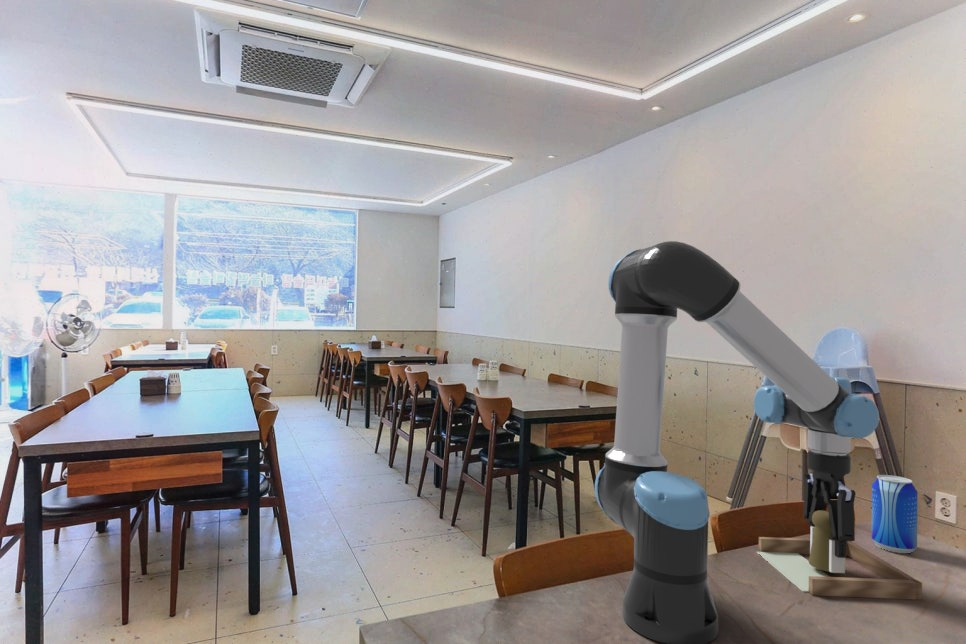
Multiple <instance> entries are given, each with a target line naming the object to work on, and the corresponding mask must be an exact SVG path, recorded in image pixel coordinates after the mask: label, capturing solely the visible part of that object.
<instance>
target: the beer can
mask: <svg viewBox="0 0 966 644" xmlns="http://www.w3.org/2000/svg"><path fill="white" fill-rule="evenodd" d="M871 540H872V541H873V542H874V543H875V546H876V547H878V548H879V549H881V548H882V550H884V549H885V551H887V550H888V551H887V552H890V551H893V552H892V553H894V552H899V553H898V554H901V553H911V552H913V553H914V551H915V550H916V549H918V491H917V489H916V487H915V486H914V485H913V480H912V479H909V478H906V477H903V476H897V475H892V474H891V475H890V474H889V475H888V474H879V475H878V474H877V476H876V479H875V481H874V482H873V483H872V484H871ZM911 554H912V553H911Z"/></svg>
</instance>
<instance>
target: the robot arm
mask: <svg viewBox="0 0 966 644" xmlns="http://www.w3.org/2000/svg"><path fill="white" fill-rule="evenodd" d="M607 284H608V291H609V295H610V296H611V298H612V299H613V301H614V302H615V304H614V305H615V306H614V307H615V308H614V316H615V319H617V321H618V322H619V323H620V324H621V334H620V335H621V336H620V337H621V339H620V352H619V367H618V381H617V382H618V384H617V396H616V397H617V399H616V411H615V412H616V413H615V428H614V429H615V430H614V443H613V447H612V448H610V449H609V450H608V451H607V452H606V453H605V455H604V457H605V459H604V465H603V467H602V468H601V469H600V470H599V471H598V473H597V475H596V477H595V481H594V494H595V495H594V496H595V499H596V501H597V503H598V506H599V507H600V508H601V510H602V511H603V513H604V514H605V515H606V517H608V518H609V519H610V520H611V521H612V522H613V523H615V524H617V525H618V526H619V527H621V528H622V529H624V531H626V532H627V533H628V534H629V535H631V536H632V537H633V539H634V541H633V545H634V546H633V570H632V573H631V575H630V578H629V580H628V584H627V587H626V589H625V592H624V595H623V599H622V609H621V610H622V611H621V612H622V613H621V614H622V618H623V620H624V622H625V624H627V625H628V626H629V628H631V629H632V630H634V631H635V632H637V634H640V635H641V636H643V637H646V638H648V639H650V640H653V641H656V642H659V643H662V644H708V643H710V642H712V641H715V639H716V638H717V637H718V636H719V635H718V634H719V614H718V611H717V608H716V605H715V602H714V599H713V595H712V591H711V589H710V586H709V582H708V557H709V556H708V555H709V553H708V552H709V550H708V549H709V548H708V547H709V519H710V509H709V508H710V507H709V498H708V494H707V491H706V490H705V488H704V487H703V486H702V485H701V484H700V483H699V482H697V481H696V480H694V479H693V478H691V477H687V476H685V475H679V474H677V473H674V472H669V471H668V465H669V464H668V463H669V462H668V460H667V459H666V457H665V456H663V454H662V453H661V439H662V425H663V423H662V422H663V407H664V406H663V405H664V393H665V376H666V375H665V374H666V359H667V348H668V347H667V346H668V343H667V342H668V331H669V328H670V326H671V325H673V323H674V322H676V321H677V319H678V309H679V310H681V311H683V312H685V313H686V314H688V316H690V317H691V318H692V319H693V320H694V321H695V322H696V323H697V322H698V323H707V324H708V326H710V327H711V328H712V329H713V330H715V332H716V333H718V334H719V335H720V336H721V337H722V338H723V339H724V340H725V341H727V342H728V344H730V345H731V347H733V348H734V349H735V350H736V351H737V352H739V353H740V355H742V357H744V358H745V359H746V360H747V361H748V362H749V363H750V364H752V365H753V366H754V367H755V368H756V369H757V370H758V371H759V372H760V373H762V375H764V376H765V377H766V378H767V379H768V380H769V381H770V382H771V383H773V384H774V385H763V386H761V387H759V389H757V391H756V392H755V394H754V397H753V409H754V412H755V414H756V416H757V418H759V420H761V421H762V422H764V423H768V424H771V423H772V424H775V425H779V424H787V425H793V426H797V427H801V428H806V429H807V448H808V449H809V450H808V451H807V452H806V453H807V461H806V462H807V464H806V465H807V468H808V469H809V470H811V471H813V472H812V473H804V475H803V477H804V496H803V497H804V498H803V500H804V501H803V518H804V520H807V523H808V525H809V529H810V531H809V532H810V533H809V537H810V538H809V539H810V552H811V546H812V541H813V535H814V529H815V525H814V524H813V522H812V515H813V513H814V512H815V511H818V510H823V511H829V518H830V524H831V531H832V537H829V571H830V572H829V573H831V574H832V573H833V574H846V542H847V541H852V542H855V539H856V538H855V534H856V533H855V498H856V490H854V489H849V488H848V487H846V481H845V476H846V475H848V474H850V473H851V467H852V466H851V465H852V464H851V457H852V456H850V454H849V453H851V441H852V439H865V438H868V437H870V435H872V434H873V433H874V432H875V430H876V429H877V428H878V426H879V422H880V412H879V409H878V407H877V405H876V403H875V402H874V401H873V400H872V399H870V398H868V397H867V396H863V395H860V394H859V393H853V392H852V384H851V381H850V380H849V379H847V378H845V377H838V376H837V377H836V376H830V374H828V373H827V372H826V370H824V369H823V368H822V367H821V366H820V365H819V364H818V363H817V362H816V361H815V360H813V358H812V357H810V356H809V355H808V354H807V353H806V352H805V351H804V350H803V349H802V348H801V347H800V346H799V345H797V343H795V342H794V341H793V340H792V338H790V337H789V336H788V335H787V334H786V333H785V332H784V331H783V330H782V329H781V328H780V327H778V326H777V325H776V324H775V323H774V321H772V320H771V319H770V318H769V317H768V316H767V315H766V314H765V313H763V311H762V310H760V309H759V308H758V306H756V304H754V303H753V302H752V301H751V300H750V299H749V298H748V297H747V296H746V295H745V294H743V292H741V282H740V281H739V280H738V279H737V278H735V276H733V274H731V272H729V271H728V270H727V269H726V268H725V267H724V266H723V265H721V264H720V263H719V262H718V261H716V260H715V259H713V258H712V257H711V256H710V255H709V254H707V253H705V252H704V251H702V250H700V249H698V248H697V247H695V246H693V245H690V244H688V243H685V242H682V241H676V240H675V241H674V240H673V241H671V240H669V241H662V242H660V243H657V244H655V245H652V246H649V247H645V248H642V249H641V248H639V249H635V250H633V251H630V252H629V253H628V254H626V255H624V256H622V257H621V258H619V259H618V260H617V262H615V264H614V265H613V267H612V269H611V271H610V273H609V277H608V283H607ZM827 509H828V510H827Z"/></svg>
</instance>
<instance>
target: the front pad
mask: <svg viewBox="0 0 966 644" xmlns="http://www.w3.org/2000/svg"><path fill="white" fill-rule="evenodd" d="M756 553H757V554H758V555H759V554H760V555H761V556H762V557H761V556H760V555H759V556H760V557H761V558H763V559H764V561H766V562H767V561H768V562H767V563H768V564H770V565H771V566H772V567H773V568H774V569H775V570H777V571H778V572H779V573H780V574H781V575H783V576H784V577H785V578H786V579H787V580H788V581H790V582H791V583H792V584H793V585H794V586H796V587H797V588H798V589H799V590H800V591H801V592H803V593H805V592H806V593H809V576H817V577H831V576H830V575H829V574H828V573H826V572H824V571H823V570H820V569H817V568H815V567H813V566H811V565H810V564H809V559H807V558H805V557H803V555H802V554H798V553H781V552H760V551H756Z"/></svg>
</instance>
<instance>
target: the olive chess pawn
mask: <svg viewBox="0 0 966 644" xmlns="http://www.w3.org/2000/svg"><path fill="white" fill-rule="evenodd" d="M812 522H813V524H814V525H815V529H814V535H813V541H812V546H811V552H810V554H809V558H808V561H809V564H810V565H811V566H813V567H815V568H817V569H820V570H822V571H823V572H824V571H825V572H829V573H831V572H830V571H829V537H832V531H831V524H830V518H829V511H828V510H826V511H823V510H818V511H815V512H814V513H813V515H812Z"/></svg>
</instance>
